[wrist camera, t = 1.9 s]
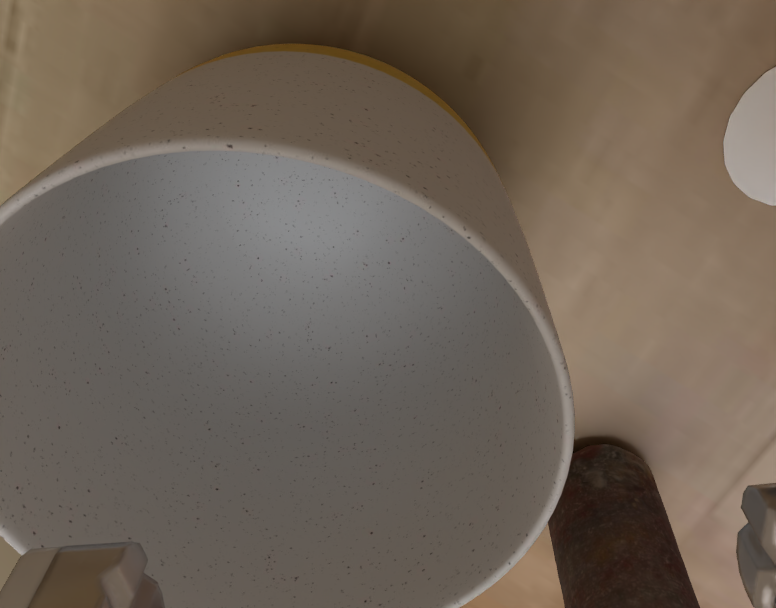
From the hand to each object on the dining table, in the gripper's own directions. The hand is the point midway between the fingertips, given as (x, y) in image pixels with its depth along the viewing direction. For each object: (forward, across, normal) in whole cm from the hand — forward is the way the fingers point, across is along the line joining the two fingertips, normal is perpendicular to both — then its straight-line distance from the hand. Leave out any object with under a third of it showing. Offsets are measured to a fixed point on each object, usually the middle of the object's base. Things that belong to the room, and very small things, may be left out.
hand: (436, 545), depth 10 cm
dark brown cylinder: (+32, -9, +29) cm, 44 cm away
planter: (+32, +6, +6) cm, 33 cm away
